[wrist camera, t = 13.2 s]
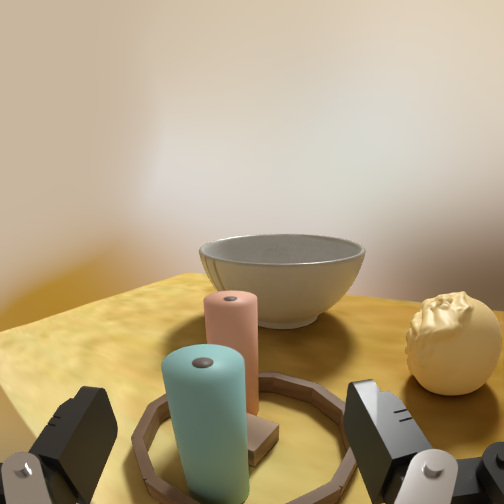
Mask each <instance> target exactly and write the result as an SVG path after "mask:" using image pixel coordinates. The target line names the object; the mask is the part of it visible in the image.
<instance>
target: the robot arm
mask: <svg viewBox="0 0 504 504" xmlns="http://www.w3.org/2000/svg"><path fill="white" fill-rule="evenodd" d="M343 425H344V431H345V434H346V437H347V440H348V442H349V445H350V447H351V450H352V452H353V455H354V457H355V460H356V463H357V465H358V468H359V470H360V473H361V475H362V478H363V481H364V483H365V486H366V488H367V491H368V494H369V496H370V499H371V502H372V504H382V503H385V504H504V442H496V443H493V444H491V445H490V446H488V447H487V449H486V450H485V451H484V453H483V455H482V457H476V458H468V459H458V460H456V459H455V458H454V457H453V456H452V455H451V454H449V453H448V452H445V451H443V450H438V449H433V448H432V446H431V444H430V443H429V441H428V440H427V438H426V437H425V435H424V434H423V432H422V431H421V429H420V428H419V426H418V425H417V423H416V422H415V420H414V419H412V416H411V414H410V413H409V411H407V408H406V407H405V405H404V404H403V403H402V401H401V400H400V398H398V397H397V396H395V395H394V394H392V393H391V392H389V391H385V392H381V391H380V389H379V388H378V386H377V385H376V383H375V381H374V380H373V379H368V380H362V381H356V382H350V383H349V385H348V390H347V397H346V404H345V411H344V417H343ZM117 432H118V427H117V421H116V418H115V416H114V413H113V410H112V407H111V404H110V401H109V398H108V395H107V392H106V391H105V389H103V388H97V387H88V386H83V387H81V388H80V390H79V391H78V393H77V394H76V396H75V397H74V399H72V398H70V399H69V400H67V401H66V402H64V403H63V404H62V405H60V406H59V407H58V409H57V410H56V412H55V413H54V415H53V417H52V418H51V419H50V420H49V422H48V425H46V426H45V428H44V429H43V431H42V432H41V434H40V435H39V437H38V438H37V440H36V441H35V443H34V444H33V446H32V447H31V449H30V450H29V452H19V453H15V454H12V455H11V456H9V457H8V458H7V459H6V460H5V461H4V463H0V504H76V503H78V504H90V502H91V499H92V497H93V494H94V492H95V489H96V487H97V484H98V482H99V479H100V477H101V474H102V472H103V469H104V467H105V464H106V462H107V459H108V457H109V455H110V452H111V450H112V447H113V445H114V443H115V440H116V438H117Z"/></svg>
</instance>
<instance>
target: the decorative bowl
mask: <svg viewBox="0 0 504 504" xmlns="http://www.w3.org/2000/svg"><path fill="white" fill-rule="evenodd" d="M199 254H200V258H201V261H202V264H203V266H204V269H205V271H206V274H207V276H208V278H209V279H210V281H211V283H212V284H213V286H214V287H215V289H216V290H217V291H218V292H220V291H245V292H249V293H252V294H254V295H256V296H257V314H258V326H261V327H265V328H270V329H294V328H300V327H304V326H307V325H309V324H311V323H313V322H314V321H315V320H316V319H317V318H318V315H319V314H321V313H323V312H325V311H326V310H328V309H329V308H331V307H332V306H333V305H335V304H336V303H337V302H338V301H339V300H340V299H341V298H342V297H343V296H344V295H345V293H346V292H347V291H348V289H349V288H350V287H351V285H352V284H353V282H354V280H355V278H356V277H357V275H358V273H359V270H360V268H361V265H362V263H363V260H364V256H365V248H364V247H363V246H362V245H360V244H359V243H356V242H353V241H350V240H346V239H341V238H335V237H327V236H319V235H304V234H264V235H248V236H238V237H232V238H225V239H220V240H216V241H212V242H209V243H207V244H205V245H203V246H202V247H201V248H200V249H199Z"/></svg>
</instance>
